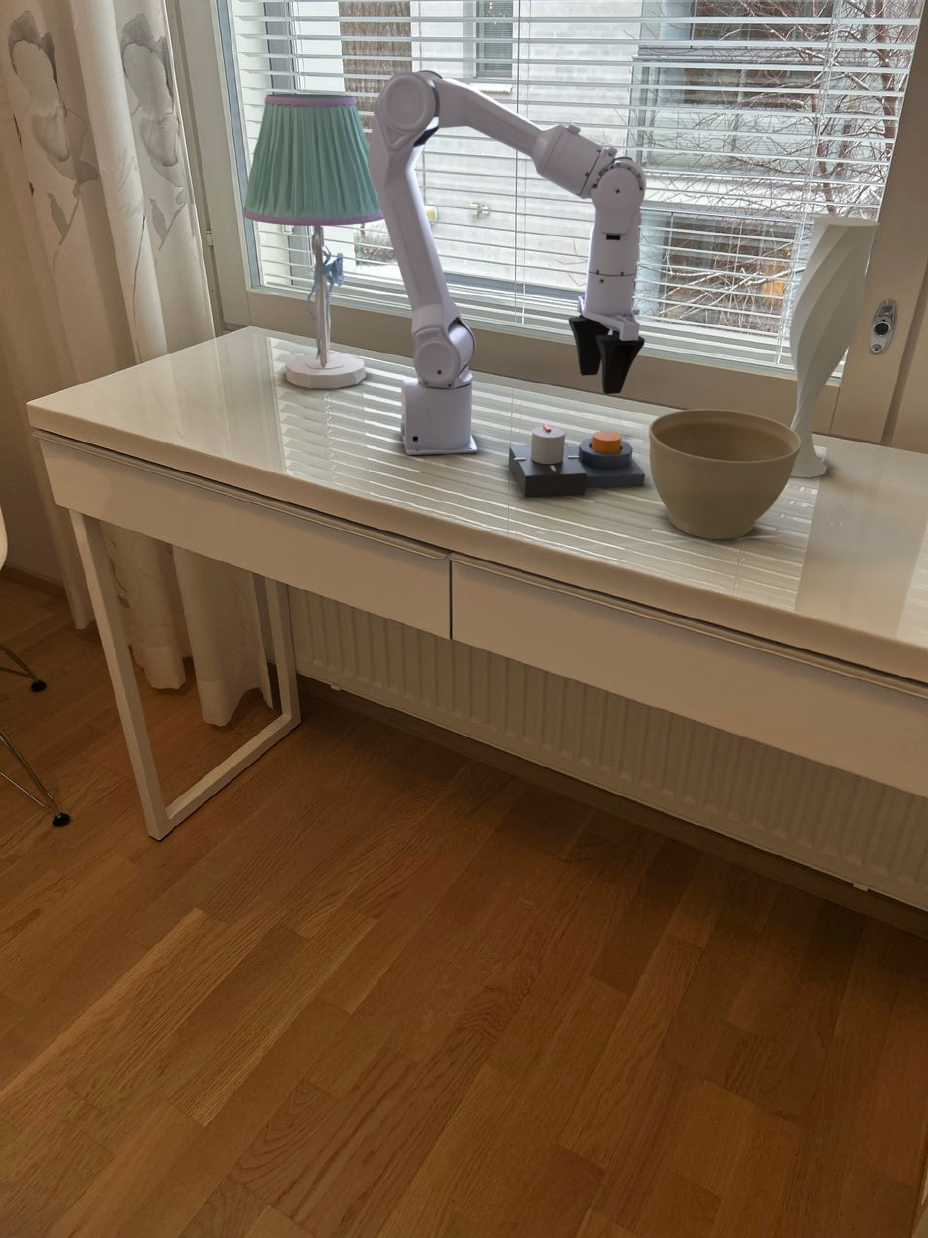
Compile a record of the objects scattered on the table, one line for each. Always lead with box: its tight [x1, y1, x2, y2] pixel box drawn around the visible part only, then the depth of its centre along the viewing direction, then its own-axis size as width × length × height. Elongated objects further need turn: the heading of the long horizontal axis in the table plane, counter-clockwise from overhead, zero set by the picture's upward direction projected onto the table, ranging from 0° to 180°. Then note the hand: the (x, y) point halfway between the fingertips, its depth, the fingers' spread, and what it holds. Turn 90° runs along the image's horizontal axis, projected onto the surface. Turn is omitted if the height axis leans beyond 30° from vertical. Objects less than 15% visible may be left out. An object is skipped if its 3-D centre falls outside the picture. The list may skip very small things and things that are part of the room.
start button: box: [591, 430, 622, 453], centre depth 118 cm, size 4×4×2 cm
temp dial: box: [531, 423, 566, 464], centre depth 115 cm, size 4×4×4 cm
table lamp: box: [242, 93, 384, 390], centre depth 142 cm, size 22×22×40 cm
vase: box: [788, 215, 881, 478], centre depth 116 cm, size 9×8×30 cm
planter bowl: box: [648, 408, 801, 540], centre depth 105 cm, size 16×16×11 cm
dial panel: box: [507, 442, 587, 499], centre depth 117 cm, size 10×8×3 cm
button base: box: [569, 437, 646, 489], centre depth 119 cm, size 10×8×4 cm
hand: (599, 383), depth 119 cm, fingers open, 7 cm apart
